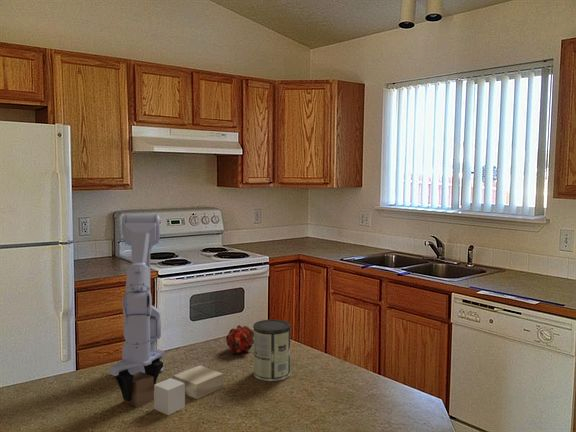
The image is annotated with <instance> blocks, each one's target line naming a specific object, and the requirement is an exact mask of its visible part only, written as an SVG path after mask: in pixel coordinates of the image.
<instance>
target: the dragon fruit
mask: <svg viewBox="0 0 576 432" xmlns="http://www.w3.org/2000/svg"><path fill="white" fill-rule="evenodd" d="M225 339H226V344H227V346H228V347H229V349H230V350H231V353H232V354H233V355H235V354H239V353H240V354H241V353H243V352H245V353H247V352H249V350H250V349H252V347H254V330H252V329H251V328H250V327H249V326H248V325H243V326H241V325H239V324H238V325H237V326H236V328H231V329H230V330H229V332H228V334H227V336H226V337H225Z"/></svg>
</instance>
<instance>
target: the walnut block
mask: <svg viewBox="0 0 576 432" xmlns="http://www.w3.org/2000/svg"><path fill="white" fill-rule="evenodd" d="M133 375H134V377H133V381H132V387H131V401H126V400H124V399H123V402H124V403H126V404H128V405H131V406H133V407H135V408H139V407H142V406H144V405H146V404H148V403H150V402H153V401H154V377H153V376H151V375H148V374H146V373H143V372H138V373H136V374H133ZM143 404H144V405H143Z"/></svg>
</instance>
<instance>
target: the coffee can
mask: <svg viewBox="0 0 576 432" xmlns="http://www.w3.org/2000/svg"><path fill="white" fill-rule="evenodd" d="M252 327H253V332H254V337H253V340H254V344H253V376H254V378H256V379H258V380H260V381H264V382H265V381H266V382H278V381H283V380H286V379H288V378H289V377H290V376H291V328H292V327H291V323H290V322H288V321H286V320H281V319H262V320H259V321H256V322H254V323H253V325H252Z"/></svg>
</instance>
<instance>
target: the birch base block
mask: <svg viewBox="0 0 576 432" xmlns="http://www.w3.org/2000/svg"><path fill="white" fill-rule="evenodd" d="M172 377H173V378H172V379H175V380H177V381H180V382H183V383H185V396H186V395H187V396H188V397H190V398H192V399H193V398H194V399H196V400H198V399H200V398H203V397H205V396H208V395H209V394H212V393H215V392H217V391H219V390H220V389H223V388H224V373H222V372H221V371H220V372H219V371H217V370H215V369H211V368H208V367H206V366H204V365H197V366H194V367H191V368H190V369H187V370H184V371H181V372H179V373H176V374H174V375H173V376H172Z"/></svg>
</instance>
